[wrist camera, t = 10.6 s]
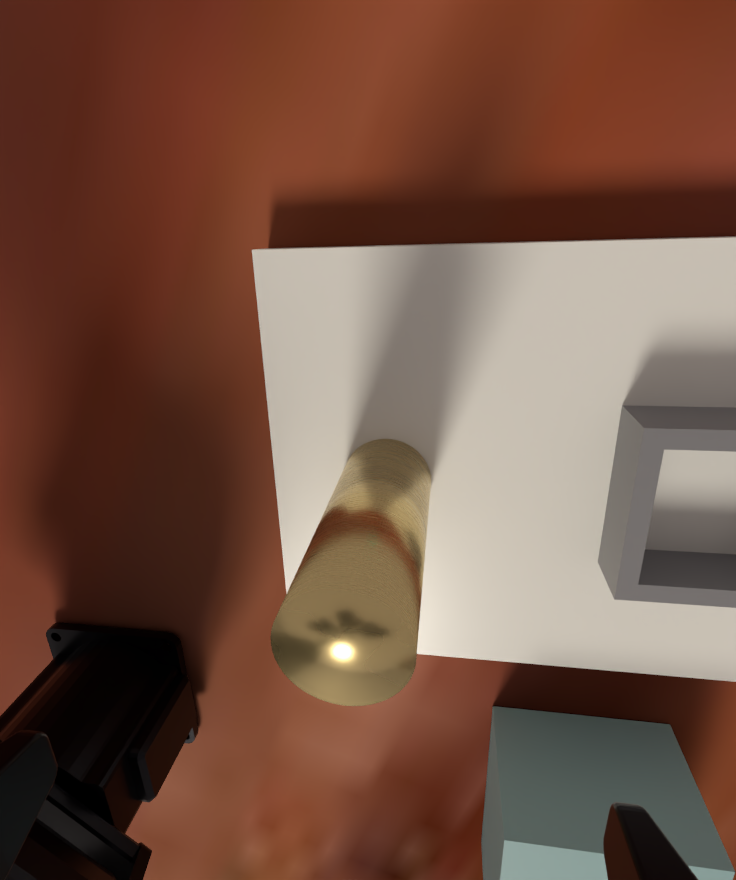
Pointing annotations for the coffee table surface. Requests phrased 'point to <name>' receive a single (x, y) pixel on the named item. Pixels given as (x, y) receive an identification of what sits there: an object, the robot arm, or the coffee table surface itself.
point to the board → (527, 435)
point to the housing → (586, 795)
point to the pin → (360, 582)
